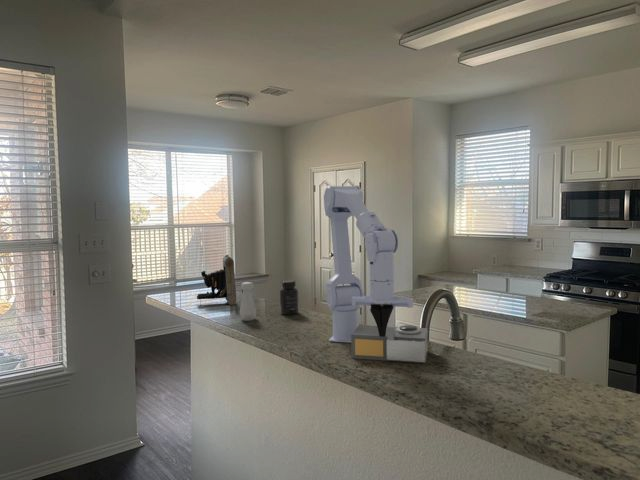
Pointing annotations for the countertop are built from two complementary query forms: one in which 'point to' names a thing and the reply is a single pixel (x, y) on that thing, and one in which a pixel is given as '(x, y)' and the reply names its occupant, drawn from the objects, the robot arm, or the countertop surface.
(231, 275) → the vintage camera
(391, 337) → the side door
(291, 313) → the supplement bottle
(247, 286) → the salt shaker
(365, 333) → the camera housing
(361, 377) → the countertop surface
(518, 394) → the countertop surface
